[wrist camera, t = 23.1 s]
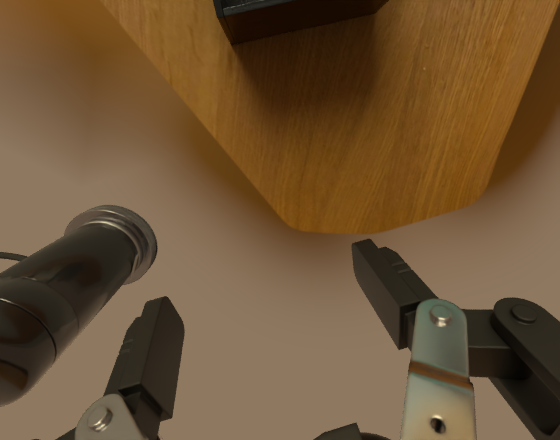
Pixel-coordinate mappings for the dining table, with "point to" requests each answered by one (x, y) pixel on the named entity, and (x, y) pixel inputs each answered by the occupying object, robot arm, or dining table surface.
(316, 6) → the bin
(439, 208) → the dining table surface
